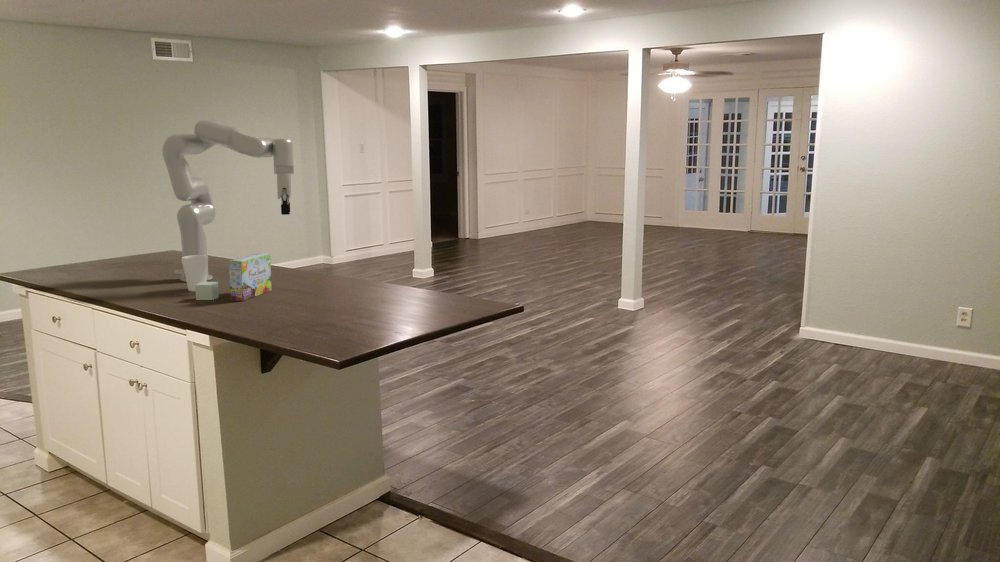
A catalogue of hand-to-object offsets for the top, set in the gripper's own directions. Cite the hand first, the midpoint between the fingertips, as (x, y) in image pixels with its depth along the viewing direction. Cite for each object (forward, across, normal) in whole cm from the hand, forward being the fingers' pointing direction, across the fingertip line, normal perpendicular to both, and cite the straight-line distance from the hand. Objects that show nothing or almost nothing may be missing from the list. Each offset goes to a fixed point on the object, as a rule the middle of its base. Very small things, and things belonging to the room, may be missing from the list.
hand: (285, 213), depth 299 cm
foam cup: (+29, +6, -34) cm, 45 cm away
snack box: (+29, +22, -13) cm, 39 cm away
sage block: (+29, +25, -28) cm, 47 cm away
